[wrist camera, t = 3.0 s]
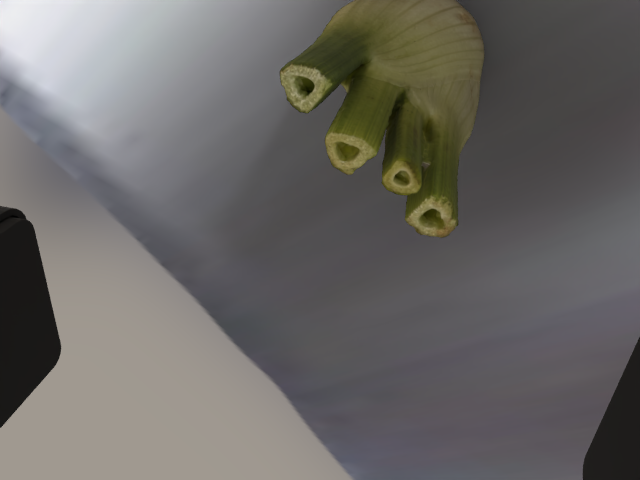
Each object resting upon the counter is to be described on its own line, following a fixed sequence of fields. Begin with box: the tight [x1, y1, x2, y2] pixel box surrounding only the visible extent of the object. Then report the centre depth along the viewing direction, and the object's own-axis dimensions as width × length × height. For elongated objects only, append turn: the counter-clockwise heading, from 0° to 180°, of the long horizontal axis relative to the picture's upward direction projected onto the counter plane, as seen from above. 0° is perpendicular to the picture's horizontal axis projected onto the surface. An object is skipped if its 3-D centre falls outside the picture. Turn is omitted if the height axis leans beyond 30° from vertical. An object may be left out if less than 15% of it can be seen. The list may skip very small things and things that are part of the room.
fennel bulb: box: [280, 0, 484, 238], centre depth 19 cm, size 6×5×12 cm
